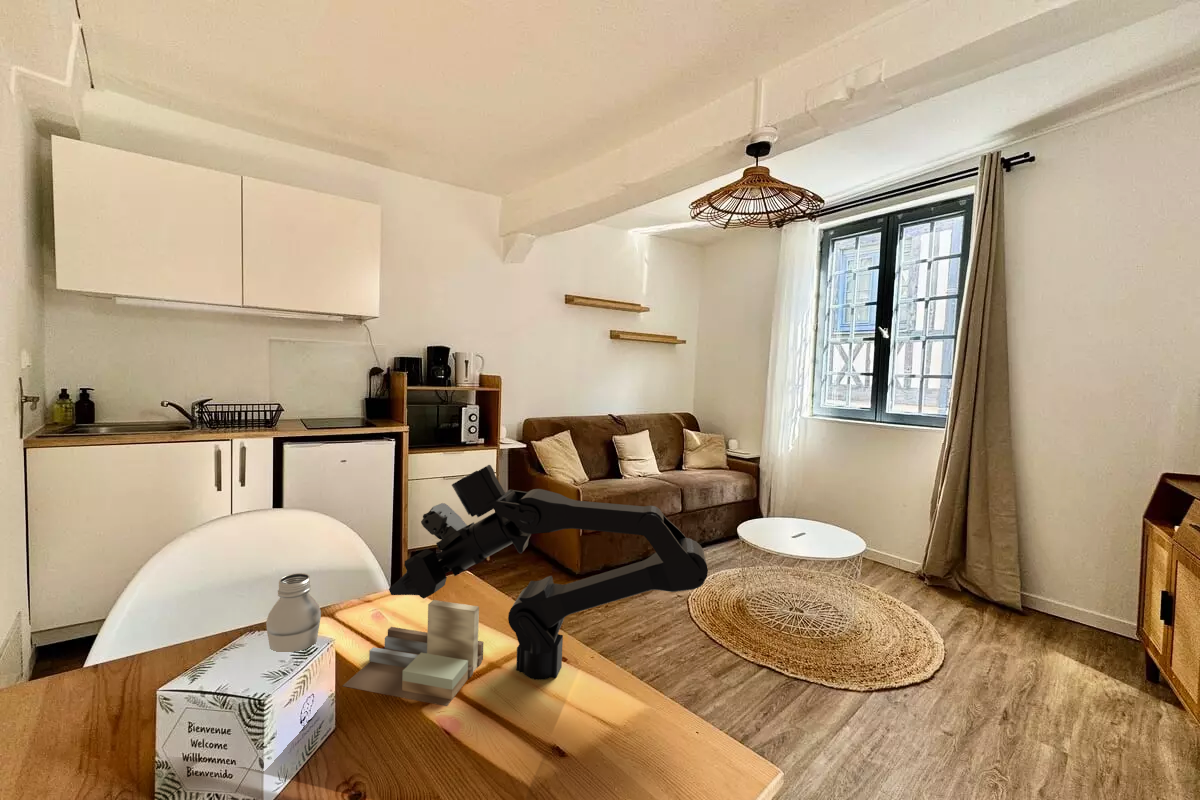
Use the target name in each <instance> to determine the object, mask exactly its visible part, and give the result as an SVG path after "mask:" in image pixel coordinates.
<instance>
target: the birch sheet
mask: <svg viewBox="0 0 1200 800" xmlns="http://www.w3.org/2000/svg"><path fill="white" fill-rule="evenodd" d="M479 615H480V606H478V605H470V604H465V603H457V602H450V601H443V600H437V599H433V600H431V601H430V602H429V603H428V604H427V654H433V655H439V656H444V657H450V658H456V659H462V660H468V666H473V671H474V672H475V671H476V669H477V668H478V667H477V656H478V641H479V618H480V617H479Z"/></svg>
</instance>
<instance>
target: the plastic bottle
mask: <svg viewBox="0 0 1200 800" xmlns="http://www.w3.org/2000/svg"><path fill="white" fill-rule="evenodd" d="M311 586H312V585H311V577H310V575H309V574H308V573H302V572H301V573H296V572H295V573H292V574H287V575H284V576H282V577H281V578H280V579H279V580H278V590H277V597H279V598H278V600H277V601H276V602H275V604H274V605H273V606H272V608H271V610H269V613H268V616H267V619H266V621H265V623H266V626H265V627H266V632H267V640H268V645H269V650H270V649H271V650H273V651H276V652H294V651H300V650H303V649H306V648H308V647H310V646H312V645H314V644H316V642H317V643H318V634H319V631H320V630H319V629H320V624H321V617H322V616H321V615H322V611H321V607H320V605H319V603H318V602H317V601H316V599H315V598H314V597H313V596H312V595H311V594H310V593H309V592H311V590H312V589H311Z"/></svg>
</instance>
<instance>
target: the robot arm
mask: <svg viewBox="0 0 1200 800" xmlns="http://www.w3.org/2000/svg"><path fill="white" fill-rule="evenodd" d="M451 487H452V488H453V491H454V492H455V494H456V495H457V497H458V499H459V501H460V502H461V504H462V506H463V508H464V509H465V511H466V513H467V514H468V516H469V515H470V516H471V518H472V517H475V516H476V517H477V518H479V517H482V516H484V515H485V514H487V513H489V512H492V510H493V511H494V512H493V513H490V515H488V516H486V517H484V518H483V519H480V520H479V521H477V522H472V523H469V524H467V523H466V522H465V521H464V520H463V518H462V517H461V516H460V515H459V514H458V513H457V512H456V511H455V510H453V508H451V507H450V505H448V504H447V503H443V502H442V503H439V504H436V505H433V506H432V507H431V509H430V510H429V511H428V512H426V513H423V514H422V519H421V521H420V523H421V525H422V527H423V528H424V529H425V530H426V531H427V532H428V533H429V534H431V535H433V536H434V537H435V538H437V539H439V541H437V542H436V543H435V544H436V546H437V549H438V550H439V551H440V552H439V553H438V554H437V555H436V554H435V552H434V551H432V550H431V549H427V548H426V549H424V550H422V551H420V552H418V553H417V554H415V555H413V556H411V557H409V558H408V559H406V560H405V561H404V568H405V569H406V572H405V573H404V574H403V575H402V576H401V577H400V578H399V579H398V580H397V581H396V582H395V583H393V584H392V585H391V586H390V587H389V588H388V591H389V593H390V595H391V596H419V597H420V598H422V599H426V598H428V597H429V596H432V595H433V594H435V593H436V592H438V591H439V590H440V589H441V588H443V587H444V586H445V585H446V582H447V573H448V572H450V573H451V572H452V575H453V576H454V577H456V576H458V575H459V574H461V573H463V572H464V571H466V570H468V569H469V568H470V567H472V566H474V565H478V564H480V563H482V562H483V561H484V560H486V559H487V558H489V557H490V556H492V555H494V554H496V553H497V552H500V551H501V550H503V549H504V548H508V546H510V545H512V544H513V545H514V547H515V549H516V550H517V553H519V554H523V552H524V551H525V550H526V548H527V547H528V545H529V539H530V537H531V536H532V535H535V534H548V533H555V532H558V531H562V530H571V529H572V530H583V531H593V532H595V531H596V532H605V533H616V534H626V535H638V536H643V537H644V538H645V539H646V540H647V541H648V542H649V544H650V545H651V547H652V548H653V550H654V551H655V552H654V553H653V554H652V555H651V556H649V557H648V558H646V559H643V560H642V561H641V560H639V561H637V562H634V563H631V564H629V565H625V566H622V567H618V568H615V569H611V570H609V571H605V572H601V573H599V574H595V575H591V576H589V577H586V578H582V579H579V580H575V581H573V582H570V583H566V584H560V583H554V579H553V578H554V577H553V575H548V576H546V577H544V578H543V579H540V580H530V581H529V583H528V585H527V586H526V587H524V588H523V589H522V591H521V592H520V594H519V595H518V597H517V598H516V600H515V601H514V603H513V605H512V606H511V607H510V610H509V612H508V616H507V617H508V618H507V619H508V624H509V626H510V628H511V630H512V631H513V632H514V633H515V636H516V638H517V642H518V646H517V647H516V660H515V661H516V664H515V666H516V667H515V670H516V671H517V672H519V673H522V674H524V675H525V677H527V678H528V679H531V680H537V681H544V680H548V679H551V678H552V679H557V677H558V676H559V674H560V672H561V669H562V663H563V645H564V644H563V641H564V635H563V634H560V633H559V632H560V631H561V627H562V625H563V622H564V620H565V618H566V617H568V616H570V615H572V614H576V613H580V612H583V611H586V610H589V609H592V608H596V607H599V606H603V605H607V604H610V603H612V602H615V601H620V600H622V599H626V598H630V597H634V596H637V595H640V594H643V593H647V592H650V591H662V592H669V593H677V592H686V591H692V590H696V589H699V588H700V587H702V586H703V585H704V584H705V581H706V580H707V577H708V573H709V570H708V565H707V559H706V555H705V551H704V548H703V546H702V545H701V544H700V543H698V541H696V540H694V539H692V538H690V537H687V536H685V534H684V533H683V532H682V531H681V530H680V529H679V527H677V526H676V525H675V524H674V523H672V521H670V519H668V518H667V517H666V516H665V514H663V511H662V510H661V509H660V508H659V507H657V506H655V505H645V506H643V505H632V504H619V503H608V502H597V501H596V502H595V501H586V500H585V501H584V500H577V499H572V498H569V497H567V496H564V495H563V494H561V493H558V492H555V491H554V492H553V491H551V490H547V489H542V488H535V489H531V490H529V491H522V490H516V489H515V490H514V489H508V490H507V491H506V492H505V490H504V488H503V487H502V485H501V483H500V481H499V479H498V478H497V476H496V473H495V470H494V469H493V467H492V465H491V464H488V465H485V466H484V467H482V468H481V469H479V470H475V471H474V472H472V473H470V474H468V475H466V476H464V477H462V478H461V479H459V480H457V481H456V482H453V483H452V484H451Z"/></svg>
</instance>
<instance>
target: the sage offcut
mask: <svg viewBox="0 0 1200 800" xmlns="http://www.w3.org/2000/svg"><path fill="white" fill-rule="evenodd" d="M467 670H468V660H462V659H456V658H450V657H444V656H439V655H433V654H427V653H420V654H419V655H418V656H417V657H416V658H415V659H414V660H413V661H412V662H411V663H410V664H409V665H408V666H407V667H406V668H405V669H404V670H403V676H402V681H407V682H413V683H418V684H424V685H429V686H434V687H440V688H445V689H451V690H452V689H453V688H454V687H455V686H456V684H457V683H458V682H459V680H460V679H461V678H462V677H463V675H464V674H465V673H466V672H467Z"/></svg>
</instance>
